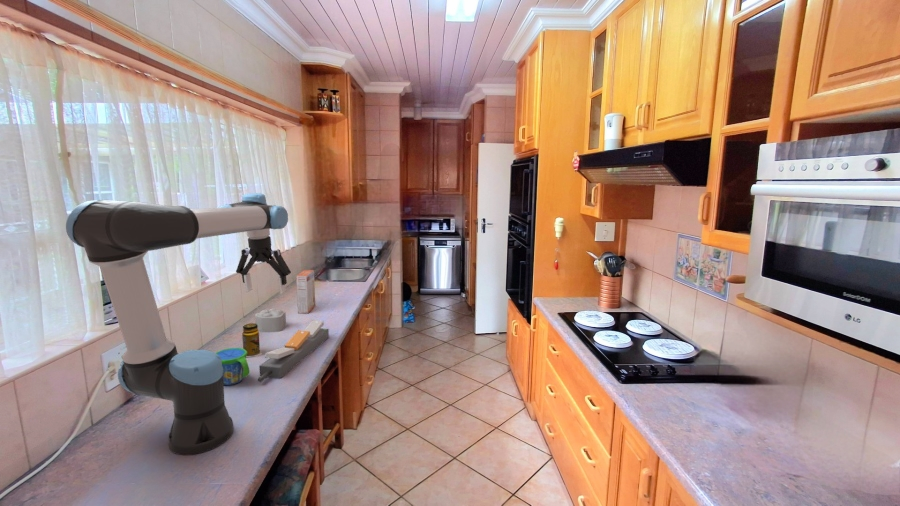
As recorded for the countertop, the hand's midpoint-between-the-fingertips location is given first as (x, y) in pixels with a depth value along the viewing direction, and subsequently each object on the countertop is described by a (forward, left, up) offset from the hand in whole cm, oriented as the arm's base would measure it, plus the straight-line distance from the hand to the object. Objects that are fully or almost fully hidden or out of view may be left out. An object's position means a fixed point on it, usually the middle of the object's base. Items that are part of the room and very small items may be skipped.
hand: (265, 291), depth 152 cm
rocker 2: (+9, -7, -22) cm, 25 cm away
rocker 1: (-4, -7, -22) cm, 24 cm away
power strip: (+6, -7, -28) cm, 30 cm away
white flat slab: (+22, -7, -22) cm, 32 cm away
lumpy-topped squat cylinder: (+34, +20, -29) cm, 49 cm away
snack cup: (-16, +4, -29) cm, 33 cm away
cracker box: (+64, +17, -29) cm, 72 cm away
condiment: (+6, +12, -29) cm, 32 cm away
